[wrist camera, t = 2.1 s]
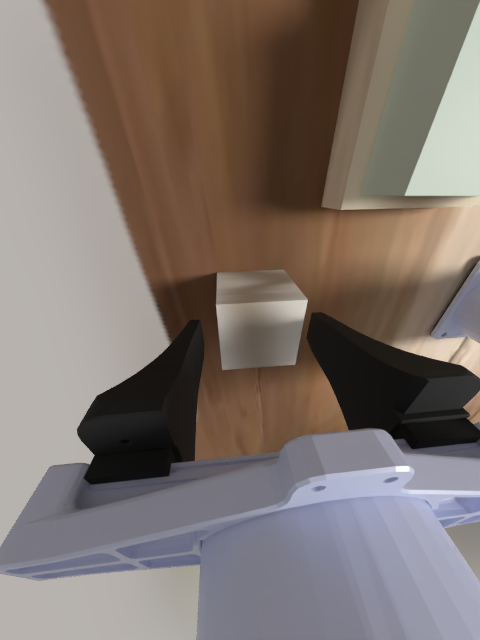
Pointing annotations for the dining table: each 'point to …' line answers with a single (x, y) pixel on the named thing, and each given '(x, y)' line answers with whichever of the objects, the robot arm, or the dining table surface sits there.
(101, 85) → the dining table surface
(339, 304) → the dining table surface
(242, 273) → the ivory cube
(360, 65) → the birch slab
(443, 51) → the sage block
